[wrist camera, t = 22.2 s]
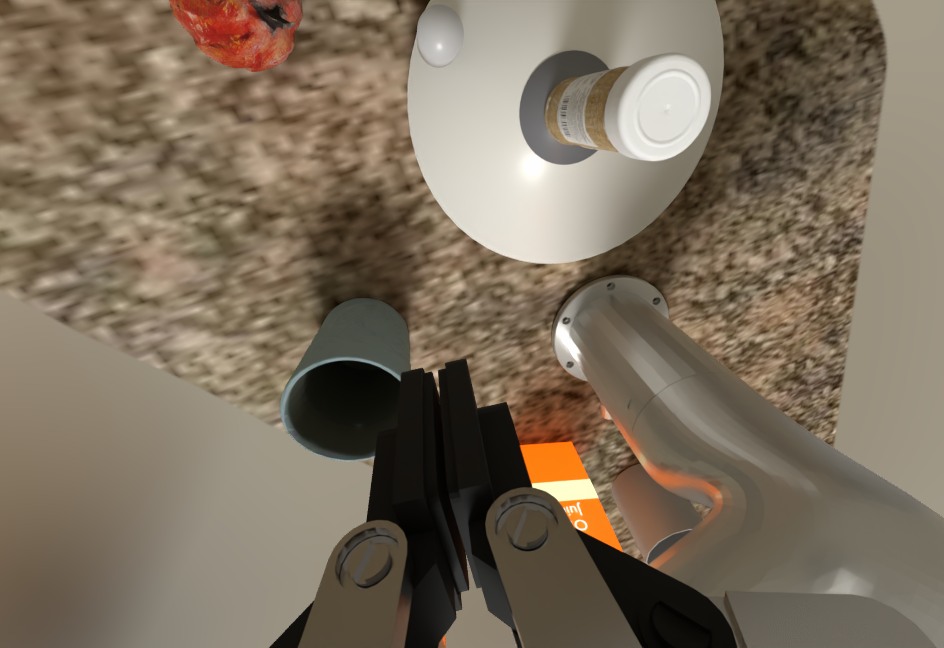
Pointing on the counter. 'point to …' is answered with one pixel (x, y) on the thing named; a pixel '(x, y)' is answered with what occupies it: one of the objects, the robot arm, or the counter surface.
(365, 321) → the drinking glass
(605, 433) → the counter surface
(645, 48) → the turntable
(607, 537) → the orange juice
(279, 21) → the pomegranate
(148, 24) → the counter surface
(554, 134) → the sprinkles bottle
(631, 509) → the cup
